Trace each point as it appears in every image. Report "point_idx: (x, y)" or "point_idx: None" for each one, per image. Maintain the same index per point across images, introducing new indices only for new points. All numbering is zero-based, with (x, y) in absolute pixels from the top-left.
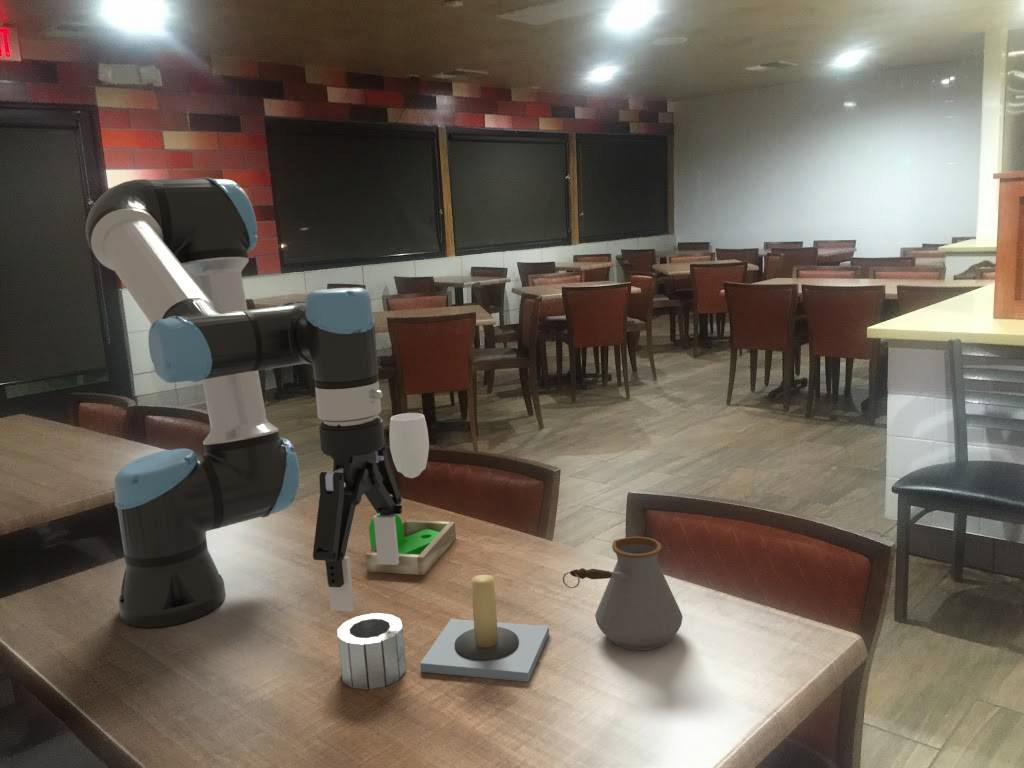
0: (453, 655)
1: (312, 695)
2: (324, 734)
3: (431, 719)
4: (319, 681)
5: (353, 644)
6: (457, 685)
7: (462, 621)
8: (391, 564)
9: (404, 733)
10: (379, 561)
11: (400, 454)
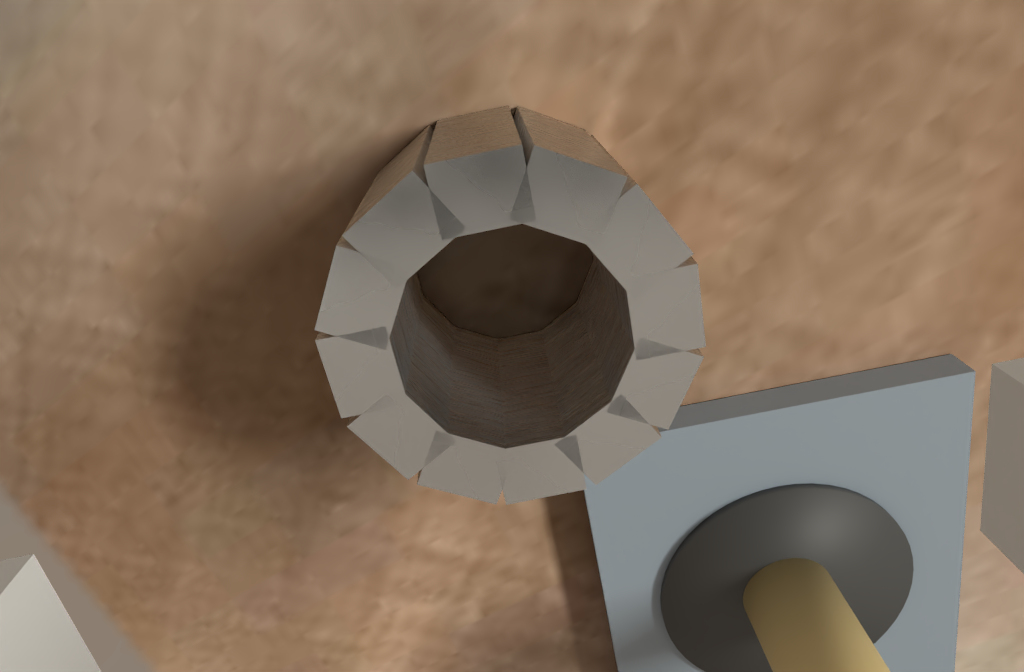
0: (670, 527)
1: (223, 111)
2: (52, 343)
3: (326, 596)
4: (331, 60)
5: (324, 362)
6: (535, 573)
7: (955, 427)
8: (985, 486)
9: (220, 567)
10: (1012, 391)
11: None
